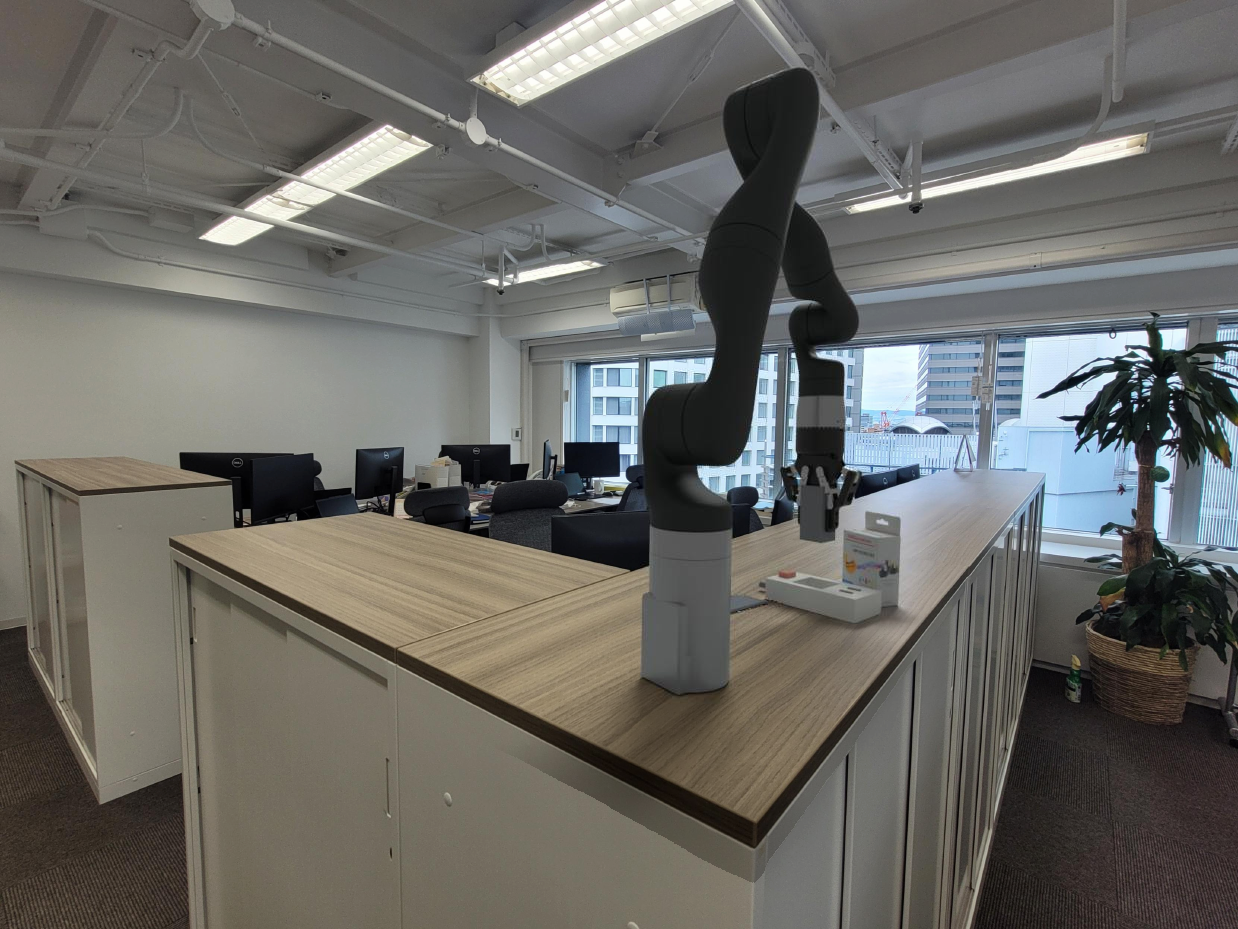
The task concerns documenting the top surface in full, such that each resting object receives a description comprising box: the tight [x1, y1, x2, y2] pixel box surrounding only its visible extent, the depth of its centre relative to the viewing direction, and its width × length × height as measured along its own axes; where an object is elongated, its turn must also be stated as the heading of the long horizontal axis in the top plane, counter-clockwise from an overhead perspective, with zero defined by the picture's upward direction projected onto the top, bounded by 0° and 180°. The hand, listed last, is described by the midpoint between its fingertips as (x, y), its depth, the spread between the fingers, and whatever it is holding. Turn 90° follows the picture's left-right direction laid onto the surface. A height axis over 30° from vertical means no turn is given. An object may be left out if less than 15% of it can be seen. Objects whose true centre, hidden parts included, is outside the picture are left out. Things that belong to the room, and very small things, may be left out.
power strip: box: [758, 569, 882, 624], centre depth 93 cm, size 8×20×4 cm, turn 39°
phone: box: [730, 594, 769, 615], centre depth 91 cm, size 12×6×1 cm, turn 128°
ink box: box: [841, 510, 902, 608], centre depth 95 cm, size 8×5×15 cm, turn 17°
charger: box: [799, 485, 836, 544], centre depth 92 cm, size 4×4×9 cm
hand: (817, 529), depth 92 cm, fingers closed on charger, 4 cm apart
